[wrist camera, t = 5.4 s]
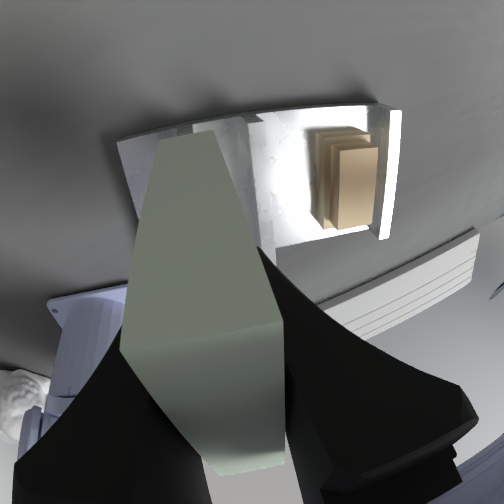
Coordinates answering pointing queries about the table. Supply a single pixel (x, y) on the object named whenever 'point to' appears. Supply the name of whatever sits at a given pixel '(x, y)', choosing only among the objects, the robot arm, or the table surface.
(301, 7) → the table surface
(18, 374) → the rabbit
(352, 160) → the offcut upper
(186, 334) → the pale green rectangular block
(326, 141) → the offcut lower
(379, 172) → the rack
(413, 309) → the white board
